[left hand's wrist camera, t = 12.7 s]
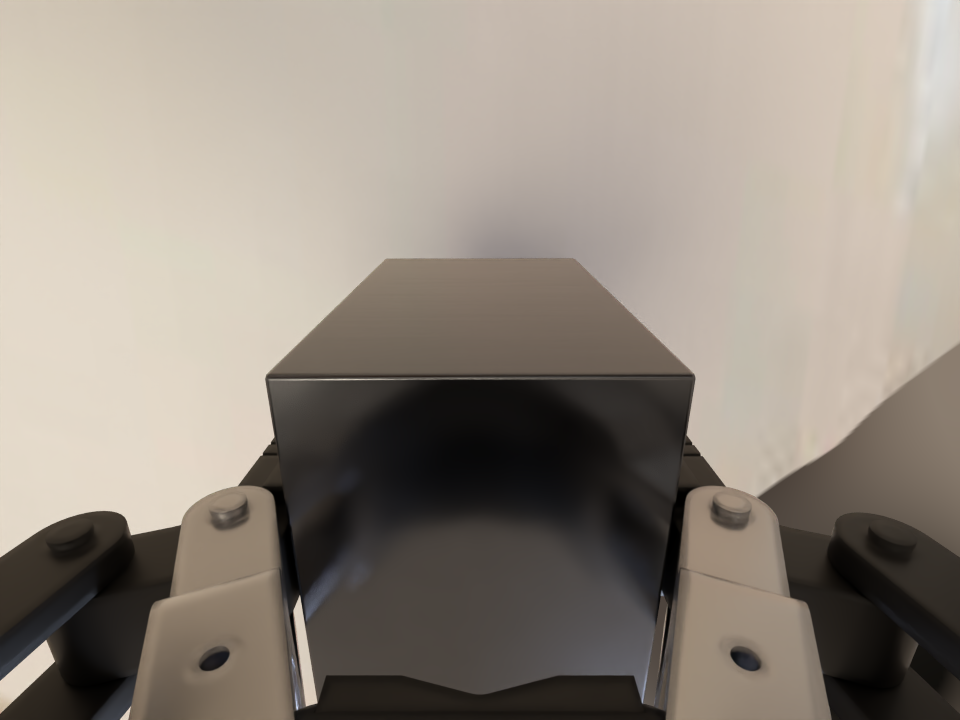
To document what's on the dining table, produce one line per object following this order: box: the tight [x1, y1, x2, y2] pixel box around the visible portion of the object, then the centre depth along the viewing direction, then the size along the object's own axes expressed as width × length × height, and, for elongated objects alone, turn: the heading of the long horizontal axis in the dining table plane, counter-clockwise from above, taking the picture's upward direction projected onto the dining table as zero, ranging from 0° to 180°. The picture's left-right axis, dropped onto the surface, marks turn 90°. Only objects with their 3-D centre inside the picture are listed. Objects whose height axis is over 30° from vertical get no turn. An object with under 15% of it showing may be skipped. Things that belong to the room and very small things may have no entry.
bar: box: [265, 258, 695, 704], centre depth 15 cm, size 23×6×9 cm, turn 0°
